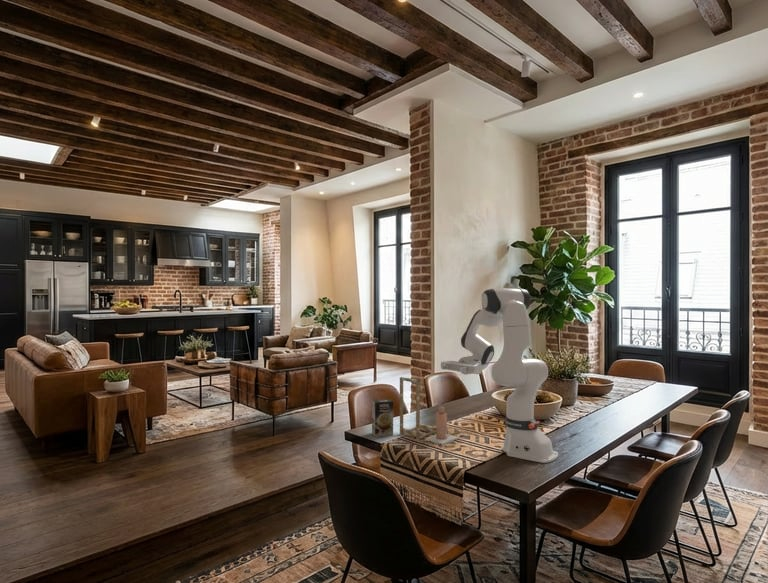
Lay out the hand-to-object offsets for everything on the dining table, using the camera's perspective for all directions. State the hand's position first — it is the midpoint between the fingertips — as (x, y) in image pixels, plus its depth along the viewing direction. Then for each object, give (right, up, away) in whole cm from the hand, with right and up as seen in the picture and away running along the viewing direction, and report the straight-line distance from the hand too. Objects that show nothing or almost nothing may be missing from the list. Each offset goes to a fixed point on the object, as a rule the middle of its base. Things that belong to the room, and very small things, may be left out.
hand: (450, 368), depth 226 cm
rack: (-16, -30, -4) cm, 34 cm away
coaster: (-6, -30, -13) cm, 33 cm away
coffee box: (-33, -30, -6) cm, 45 cm away
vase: (-6, -29, -13) cm, 33 cm away
